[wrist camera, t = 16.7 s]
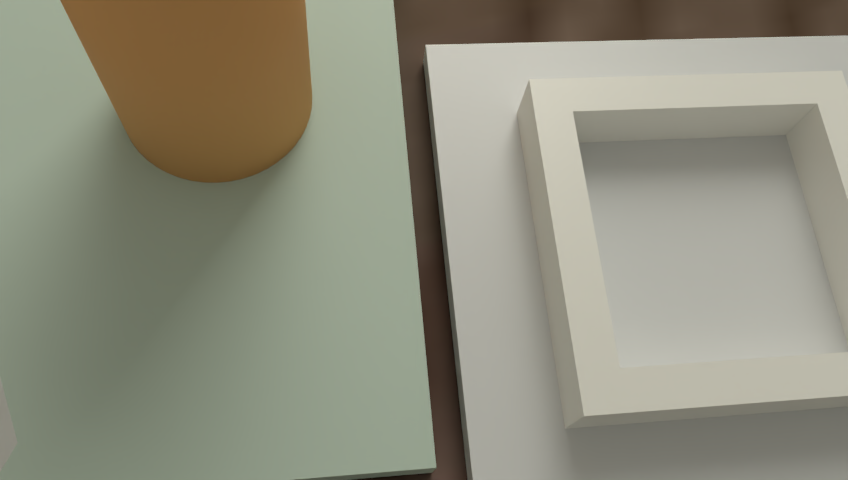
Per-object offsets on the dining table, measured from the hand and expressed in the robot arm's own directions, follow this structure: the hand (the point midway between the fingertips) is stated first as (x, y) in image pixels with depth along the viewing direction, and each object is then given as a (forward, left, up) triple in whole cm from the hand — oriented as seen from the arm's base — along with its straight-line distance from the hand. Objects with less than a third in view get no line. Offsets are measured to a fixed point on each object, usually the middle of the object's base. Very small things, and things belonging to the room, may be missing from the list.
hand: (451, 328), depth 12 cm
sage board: (+11, +6, -12) cm, 18 cm away
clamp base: (+5, -10, -12) cm, 17 cm away
